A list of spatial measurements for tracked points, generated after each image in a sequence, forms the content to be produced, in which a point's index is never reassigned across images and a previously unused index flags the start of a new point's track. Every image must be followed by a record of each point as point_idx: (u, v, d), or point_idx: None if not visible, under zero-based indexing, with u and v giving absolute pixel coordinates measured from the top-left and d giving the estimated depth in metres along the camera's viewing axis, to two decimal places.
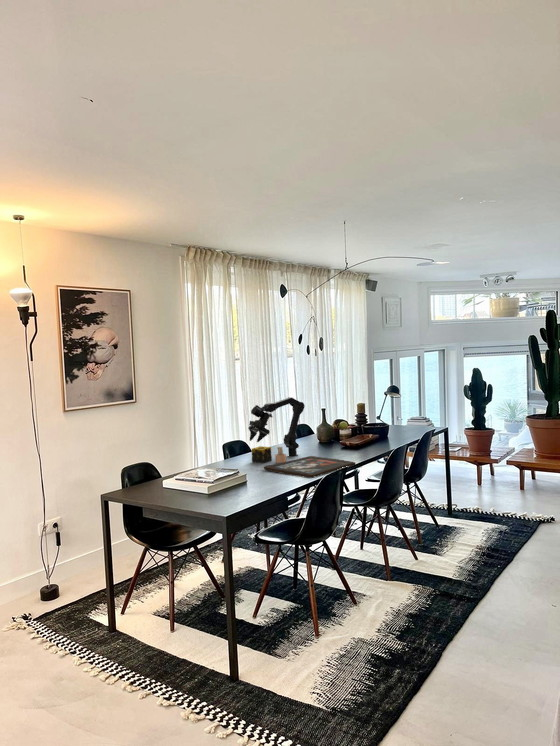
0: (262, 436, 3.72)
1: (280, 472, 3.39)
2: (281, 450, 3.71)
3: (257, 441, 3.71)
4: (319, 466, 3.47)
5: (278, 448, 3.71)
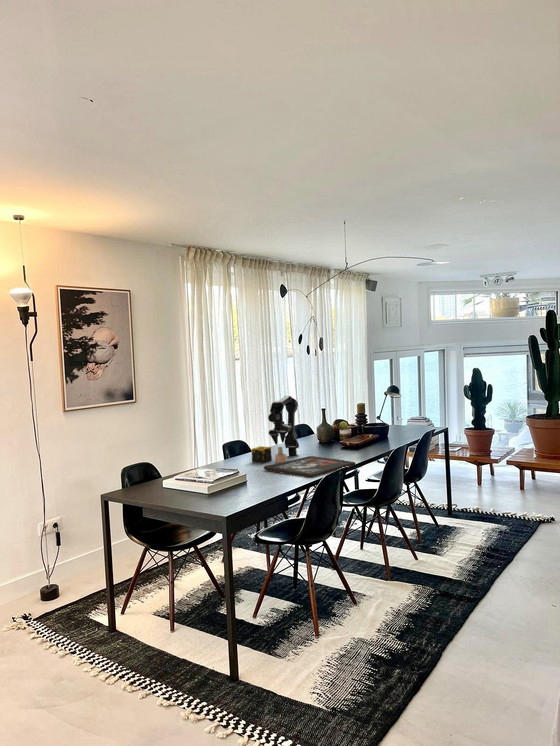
0: None
1: (280, 472, 3.39)
2: (281, 450, 3.71)
3: (283, 441, 3.76)
4: (319, 466, 3.47)
5: (278, 448, 3.71)
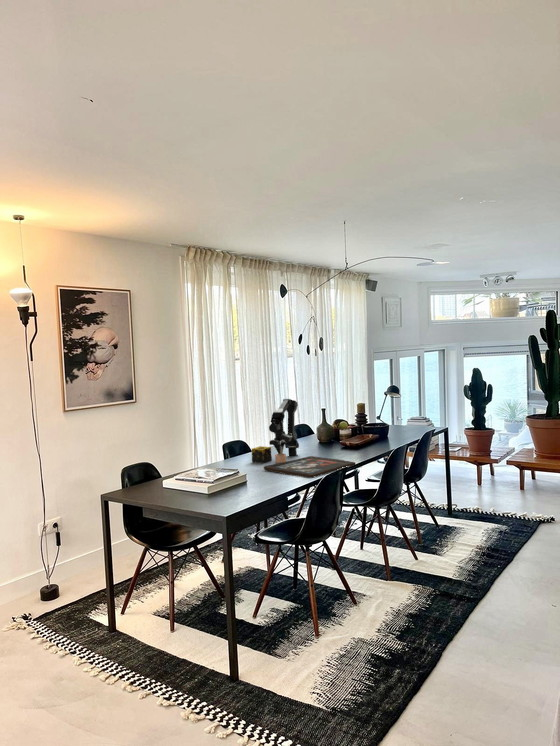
0: None
1: (280, 472, 3.39)
2: (281, 450, 3.71)
3: None
4: (319, 466, 3.47)
5: None
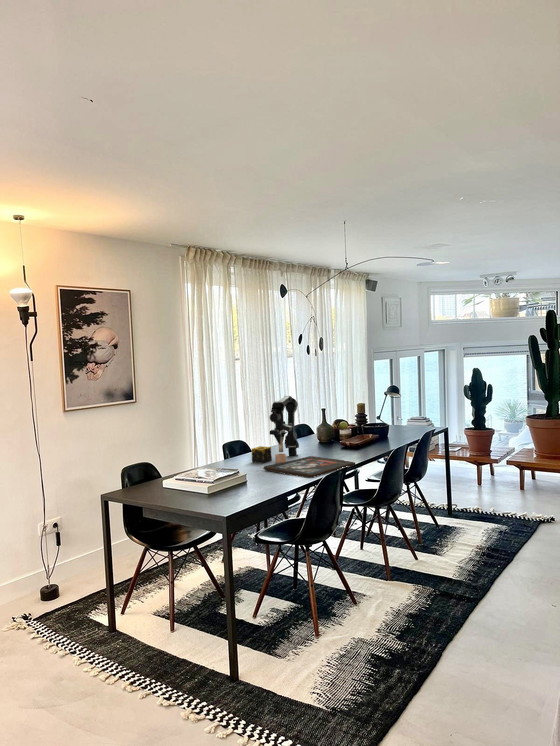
0: None
1: (280, 472, 3.39)
2: (281, 440, 3.70)
3: None
4: (319, 466, 3.47)
5: None
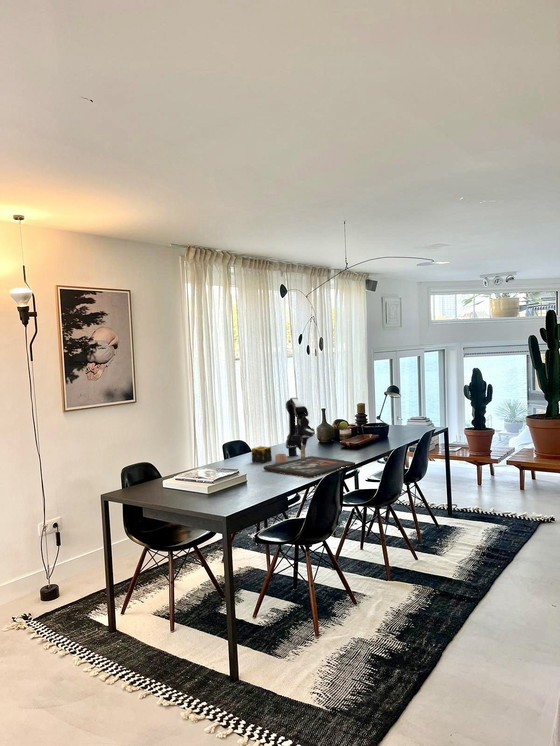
0: None
1: (280, 472, 3.39)
2: (304, 449, 3.60)
3: (305, 447, 3.64)
4: (319, 466, 3.47)
5: (301, 446, 3.60)
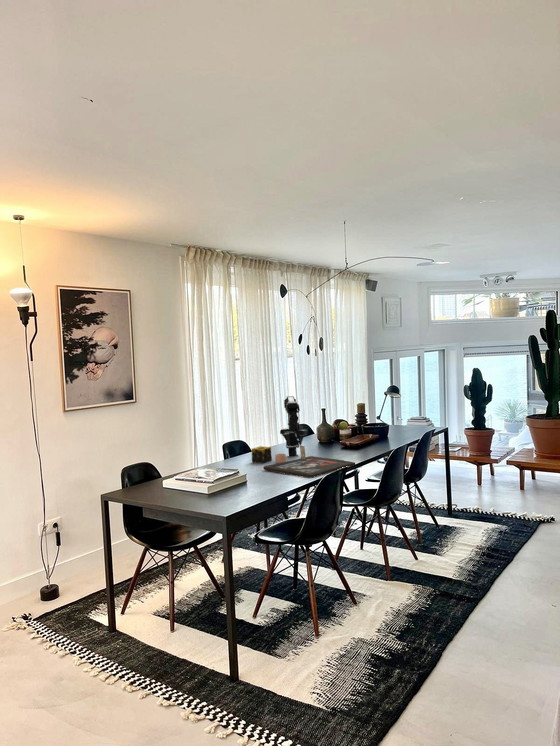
0: None
1: (280, 472, 3.39)
2: (303, 449, 3.59)
3: (288, 443, 3.67)
4: (319, 466, 3.47)
5: (300, 447, 3.59)
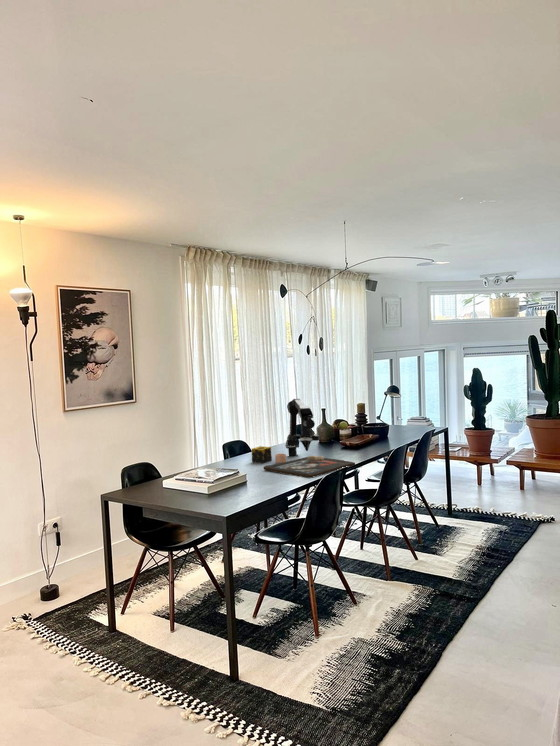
0: None
1: (280, 472, 3.40)
2: None
3: None
4: (319, 466, 3.47)
5: None
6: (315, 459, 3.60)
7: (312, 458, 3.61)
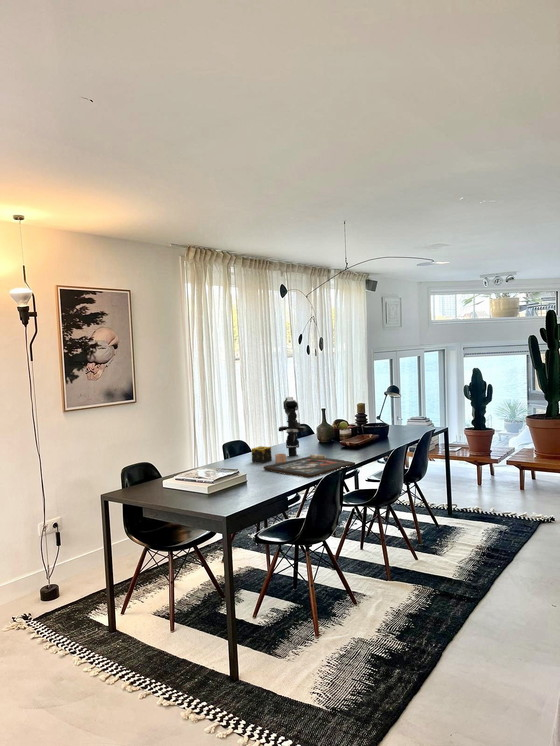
0: None
1: (280, 472, 3.40)
2: (321, 459, 3.63)
3: None
4: (319, 466, 3.47)
5: (322, 456, 3.63)
6: None
7: None
